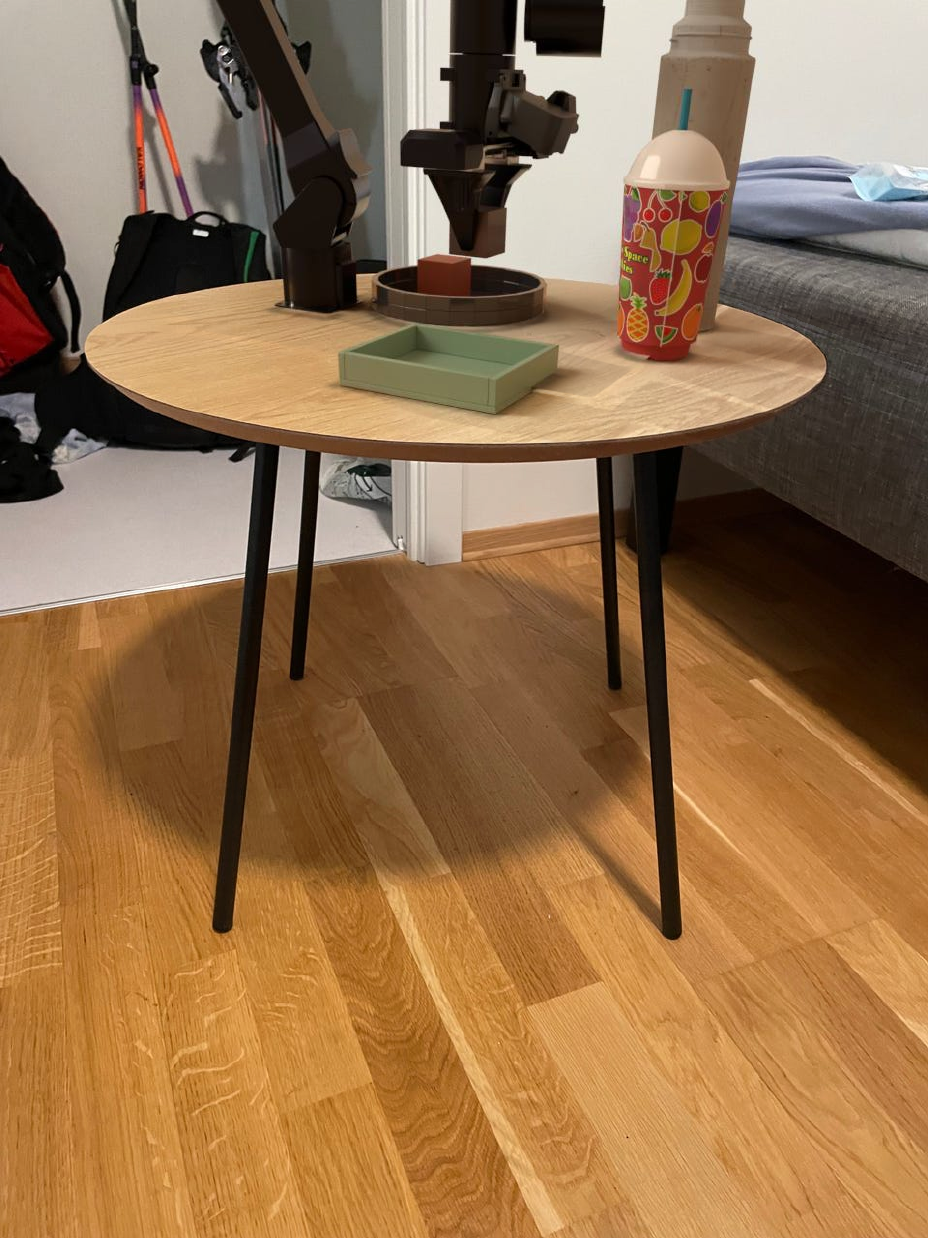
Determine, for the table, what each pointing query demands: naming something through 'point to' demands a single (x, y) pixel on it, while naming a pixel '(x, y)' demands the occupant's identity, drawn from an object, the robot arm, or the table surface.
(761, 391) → the table surface
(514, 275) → the pan
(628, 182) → the smoothie
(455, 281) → the terracotta block
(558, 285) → the table surface
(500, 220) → the walnut block
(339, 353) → the tray
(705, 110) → the thermos bottle
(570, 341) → the table surface
